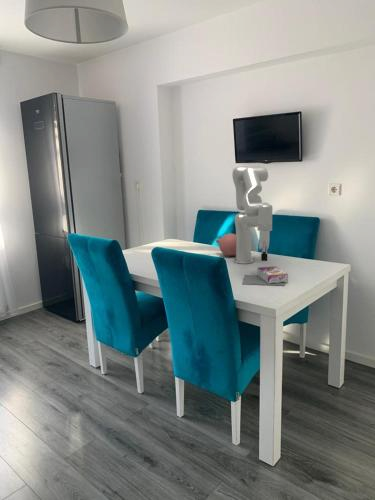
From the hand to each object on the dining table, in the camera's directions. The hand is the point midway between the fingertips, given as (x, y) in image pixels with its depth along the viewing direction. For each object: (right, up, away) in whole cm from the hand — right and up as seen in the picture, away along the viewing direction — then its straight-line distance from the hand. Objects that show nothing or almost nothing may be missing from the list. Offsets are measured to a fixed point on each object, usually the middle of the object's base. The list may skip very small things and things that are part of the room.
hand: (264, 260), depth 221 cm
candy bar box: (+2, -6, +7) cm, 9 cm away
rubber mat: (-1, -11, -2) cm, 11 cm away
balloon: (-14, +2, +57) cm, 59 cm away
